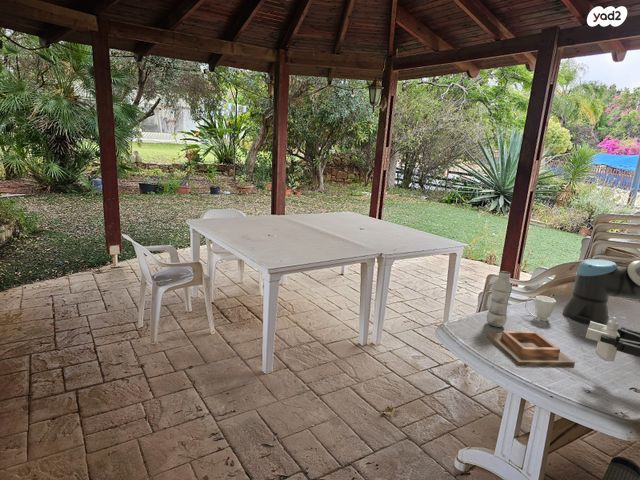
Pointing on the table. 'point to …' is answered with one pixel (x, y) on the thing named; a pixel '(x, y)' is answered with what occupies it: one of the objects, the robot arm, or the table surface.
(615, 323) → the eye dropper bottle
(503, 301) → the plastic bottle
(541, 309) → the cup
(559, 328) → the table surface
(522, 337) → the collar board
